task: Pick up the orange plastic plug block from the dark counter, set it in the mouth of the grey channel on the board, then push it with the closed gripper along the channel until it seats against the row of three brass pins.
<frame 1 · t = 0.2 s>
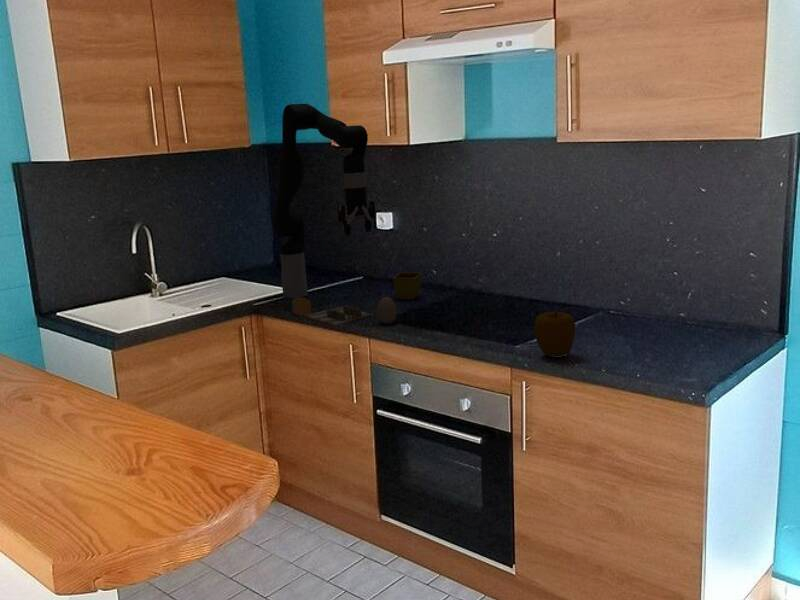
hand: (358, 233, 276), 29 cm above the countertop, fingers open, 8 cm apart
header board: (338, 316, 281), on the countertop
flower pot: (408, 299, 302), on the countertop
apple: (555, 357, 225), on the countertop
plug block: (302, 313, 288), on the countertop
egg: (387, 324, 268), on the countertop
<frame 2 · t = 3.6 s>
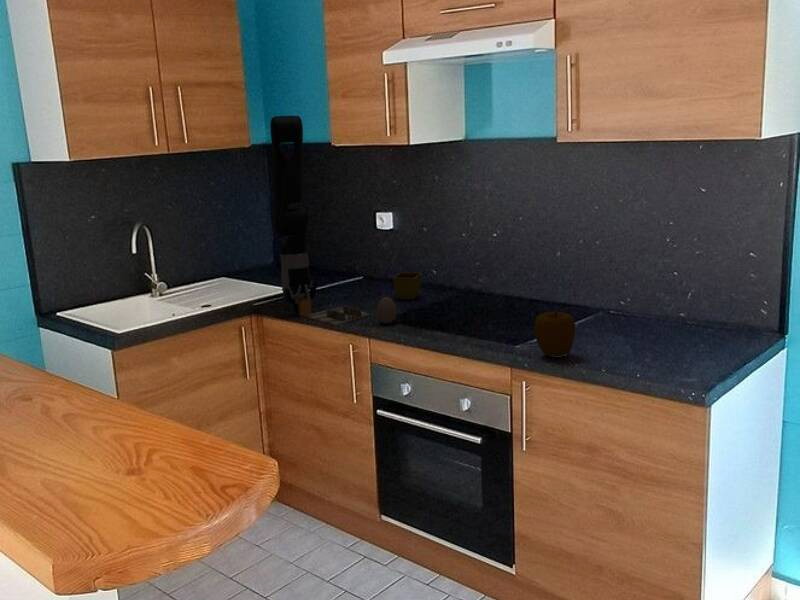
hand: (302, 312, 288), 0 cm above the countertop, fingers closed on plug block, 4 cm apart
plug block: (302, 313, 288), on the countertop, touching gripper
everything else where it was.
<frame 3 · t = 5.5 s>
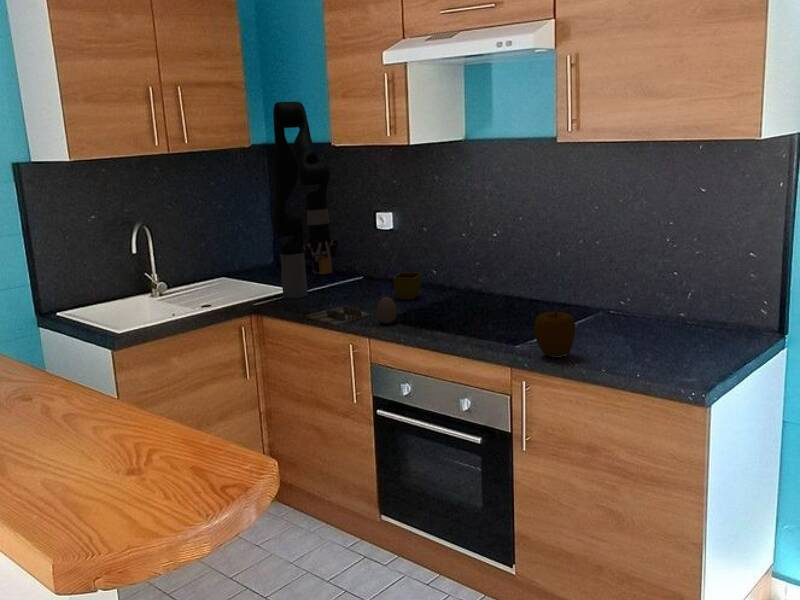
hand: (322, 270, 281), 16 cm above the countertop, fingers closed on plug block, 4 cm apart
plug block: (322, 272, 281), point 15 cm above the countertop, touching gripper
everything else where it was.
when the fingers open (3 cm above the countertop, at t = 7.4 s): plug block drops 1 cm, resting on header board.
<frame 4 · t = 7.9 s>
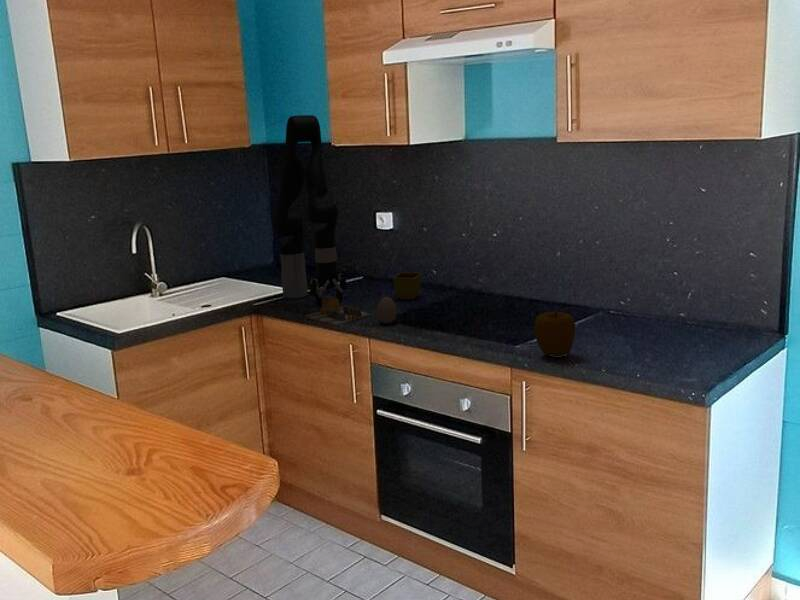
hand: (329, 305, 284), 3 cm above the countertop, fingers open, 8 cm apart
plug block: (330, 312, 285), point 1 cm above the countertop, touching header board
everything else where it was.
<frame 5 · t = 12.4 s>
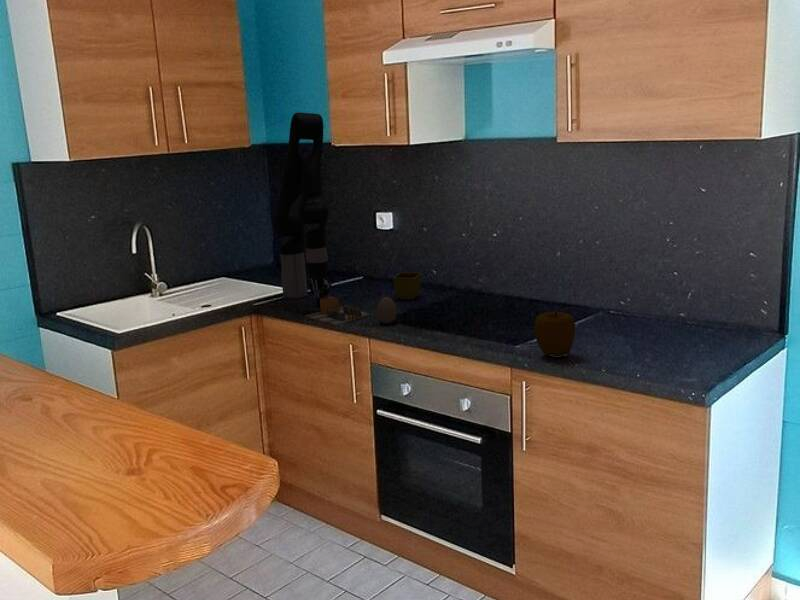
hand: (320, 307, 289), 2 cm above the countertop, fingers closed
plug block: (330, 312, 285), point 1 cm above the countertop, touching gripper, header board
everything else where it was.
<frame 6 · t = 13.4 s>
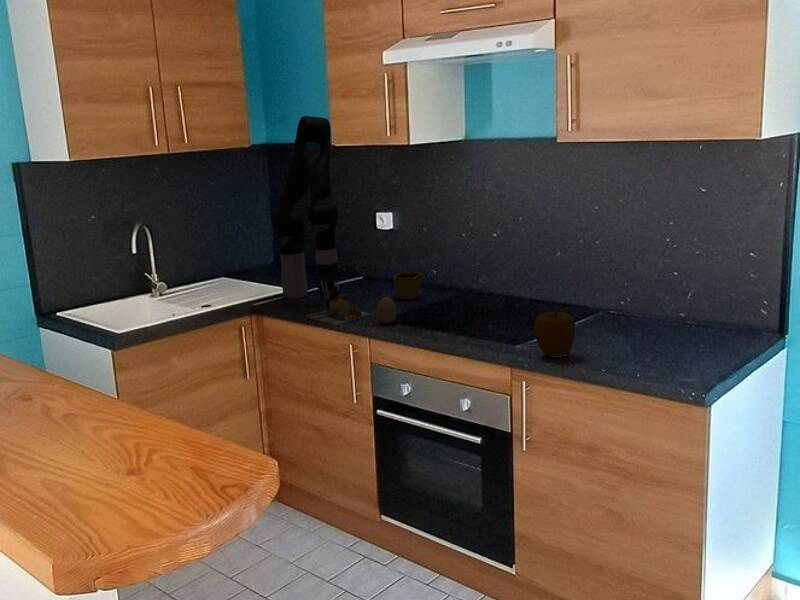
hand: (330, 309, 284), 2 cm above the countertop, fingers closed
plug block: (339, 315, 280), point 1 cm above the countertop, touching gripper, header board
everything else where it was.
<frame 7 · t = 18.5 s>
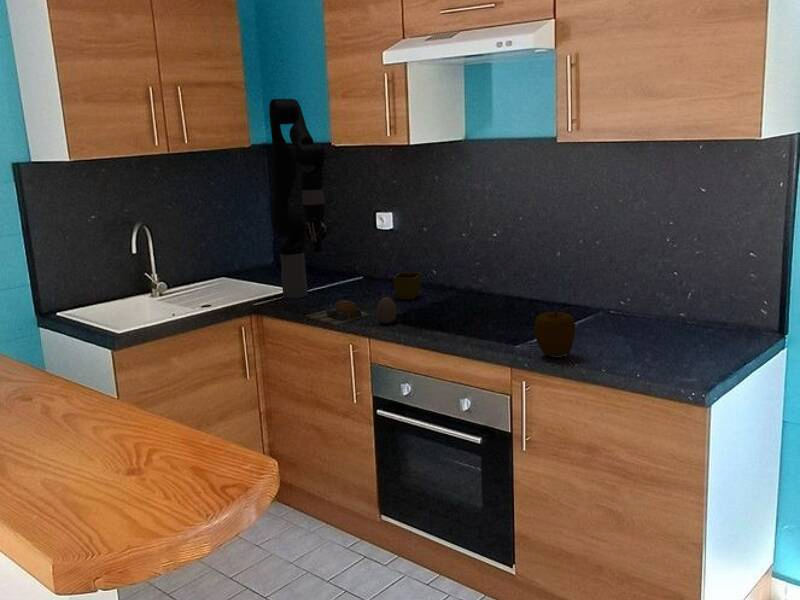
hand: (317, 251, 284), 22 cm above the countertop, fingers closed
plug block: (346, 317, 277), point 1 cm above the countertop, touching header board
everything else where it was.
at the end: plug block 0.4 cm from the target spot on the header board, point 0.6 cm above the header board's base; plug block tilted 0° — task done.
